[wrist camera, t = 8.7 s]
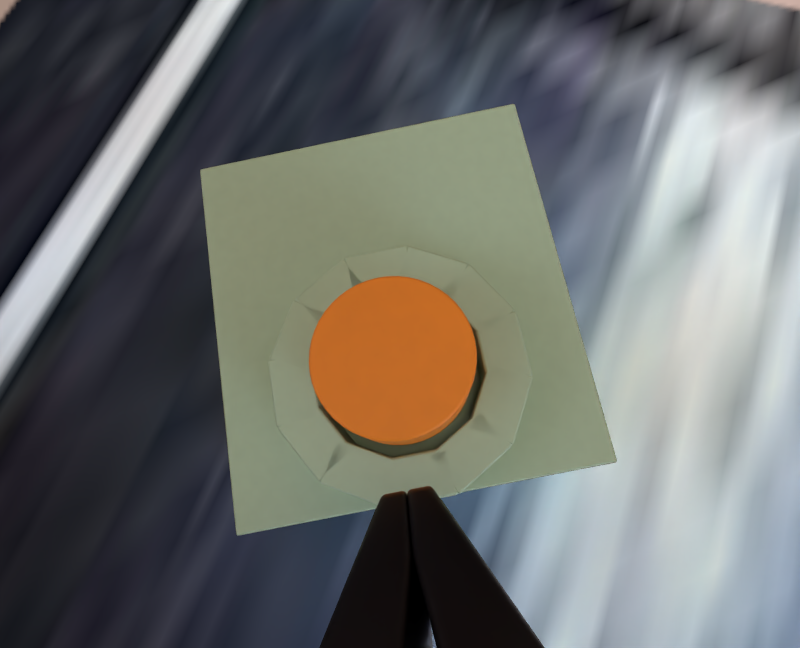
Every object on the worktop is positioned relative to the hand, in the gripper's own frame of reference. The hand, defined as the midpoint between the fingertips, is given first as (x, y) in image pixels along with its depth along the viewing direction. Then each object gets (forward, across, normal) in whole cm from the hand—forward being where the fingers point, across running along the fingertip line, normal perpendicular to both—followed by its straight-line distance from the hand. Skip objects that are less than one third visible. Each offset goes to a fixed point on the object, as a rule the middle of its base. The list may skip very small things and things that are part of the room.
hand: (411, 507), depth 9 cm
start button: (+6, 0, +1) cm, 6 cm away
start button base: (+12, 0, +4) cm, 13 cm away
